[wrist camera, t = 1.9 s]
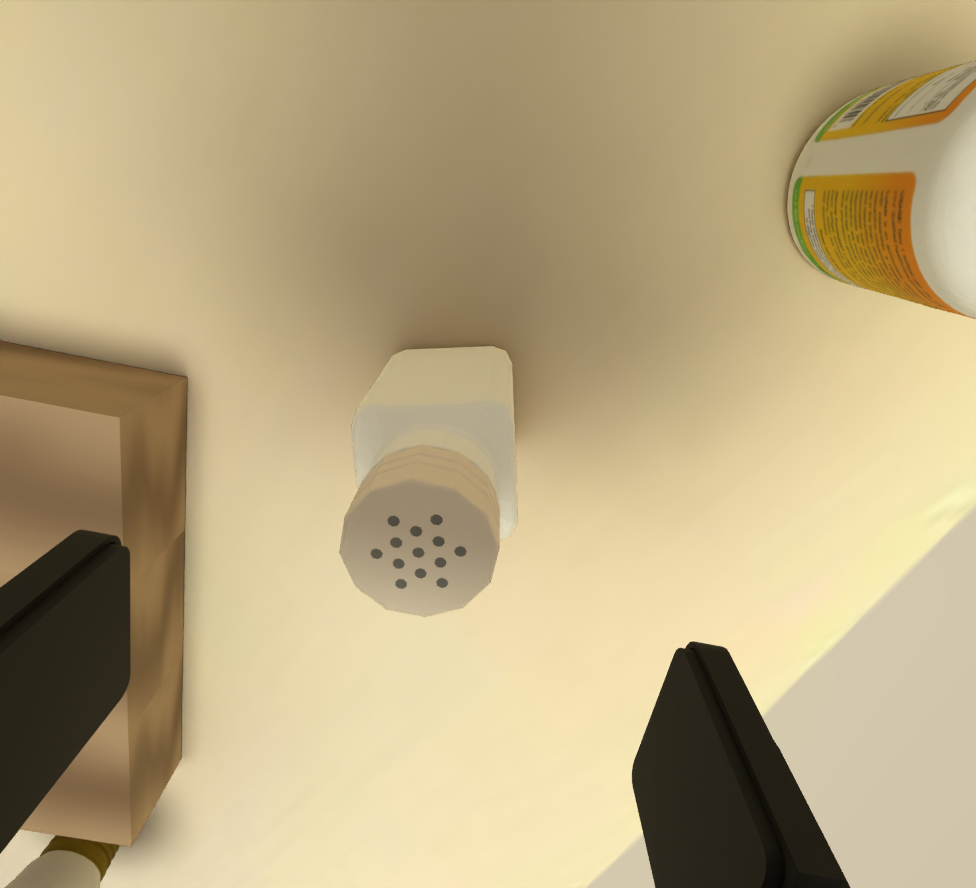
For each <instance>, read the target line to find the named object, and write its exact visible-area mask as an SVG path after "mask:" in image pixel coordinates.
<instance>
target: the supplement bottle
mask: <svg viewBox="0 0 976 888" xmlns="http://www.w3.org/2000/svg"><path fill="white" fill-rule="evenodd" d="M787 211H788V220H789V226H790V231H791V234H792V237H793V239H794V242H795V244H796V246H797V248H798V249H799V251H800V253H801V254H802V255H803V257H804V258H805V259H806V260H807V261H808V262H809V263H810V264H811V265H812V266H813V267H814V268H816V269H817V270H819V271H820V272H822V273H823V274H825V275H827V276H829V277H831V278H833V279H835V280H838V281H841V282H844V283H847V284H850V285H853V286H857V287H860V288H864V289H868V290H873V291H876V292H880V293H883V294H887V295H890V296H894V297H898V298H901V299H905V300H908V301H912V302H915V303H918V304H922V305H925V306H928V307H932V308H935V309H940V310H943V311H947V312H952V313H955V314H959V315H963V316H966V317H970V318H974V319H976V61H973V62H969V63H965V64H961V65H957V66H954V67H950V68H946V69H943V70H939V71H936V72H932V73H929V74H925V75H921V76H916V77H913V78H910V79H906V80H903V81H899V82H896V83H892V84H889V85H886V86H883V87H880V88H877V89H874V90H872V91H869V92H866V93H864V94H862V95H860V96H858V97H856V98H854V99H853V100H851V101H849V102H848V103H846V104H845V105H843V106H842V107H841V108H839V109H838V110H837V111H835V112H834V113H833V114H832V115H831V116H830V117H828V118H827V119H826V120H825V121H824V122H823V123H822V124H821V126H820V127H819V128H818V129H817V130H816V131H815V133H814V134H813V135H812V136H811V138H810V139H809V141H808V142H807V144H806V145H805V147H804V149H803V150H802V152H801V154H800V156H799V158H798V160H797V163H796V165H795V168H794V171H793V174H792V177H791V181H790V185H789V191H788V203H787Z"/></svg>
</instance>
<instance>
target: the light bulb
mask: <svg viewBox="0 0 976 888" xmlns="http://www.w3.org/2000/svg"><path fill="white" fill-rule="evenodd" d="M119 846H120V845H117V844H110V843H104V842H98V841H91V840H85V839H79V838H72V837H66V836H59V835H56V836H55V837H54V838H53V839H52V840H51V842H50V843H49V845H48V846H47V847H46V848H45V849H44V851H43V852H42V853H41V855H40V857H39V858H37V859H36V860H34V861H33V862H31V863H30V864H29V865H28V866H27V867H26V868H25V869H24V870H23V871H22V872H21V873H20V874H19V875H18V876H17V877H16V878H15V879H14V880H13V881H12V882H11V883H9V884H8V885H7V886H6V887H5V888H100V882H101V880H102V879H103V877H104V875H105V873H106V871H107V868H108V867H109V866H110V864H111V860H112V859H113V858H114V856H115V853H116V852H117V850H118V849H119Z"/></svg>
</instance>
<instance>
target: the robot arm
mask: <svg viewBox="0 0 976 888" xmlns="http://www.w3.org/2000/svg"><path fill="white" fill-rule="evenodd" d="M130 674H131V642H130V551H129V549H128V548H127V547H126V546H122V544H121V541H120V539H119V537H117V536H116V535H110V534H105V533H99V532H94V531H88V530H77V531H75V532H73V533H72V534H71V535H69V536H68V537H67V538H65V539H64V540H63V541H61V542H60V543H59V544H57V545H56V546H55V547H53V548H52V549H51V550H49V551H48V552H47V553H45V554H44V555H43V556H41V557H40V558H39V559H37V560H36V561H35V562H33V563H32V564H31V565H29V566H28V567H27V568H25V569H24V570H23V571H21V572H20V573H19V574H17V575H16V576H15V577H14V578H12V579H11V580H10V581H8V582H7V583H6V584H4V585H3V586H2V587H0V854H1V852H2V851H3V850H4V848H5V847H6V846H7V845H8V843H9V842H10V841H11V839H12V838H13V837H14V836H15V834H16V833H17V832H18V830H19V829H20V828H21V827H22V825H23V824H24V823H25V821H26V820H27V819H28V818H29V816H30V815H31V814H32V813H33V811H34V810H35V809H36V807H37V806H38V805H39V804H40V802H41V801H42V800H43V798H44V797H45V796H46V795H47V793H48V792H49V791H50V789H51V788H52V787H53V786H54V784H55V783H56V782H57V780H58V779H59V778H60V777H61V775H62V774H63V773H64V772H65V770H66V769H67V768H68V766H69V765H70V764H71V763H72V761H73V760H74V759H75V757H76V756H77V755H78V754H79V752H80V751H81V750H82V748H83V747H84V746H85V745H86V743H87V742H88V741H89V739H90V738H91V737H92V736H93V734H94V733H95V732H96V731H97V729H98V728H99V727H100V725H101V724H102V723H103V722H104V720H105V719H106V718H107V716H108V715H109V714H110V713H111V711H112V710H113V709H114V707H115V706H116V705H117V704H118V702H119V701H120V700H121V698H122V697H123V695H124V693H125V691H126V690H127V687H128V684H129V681H130ZM632 784H633V789H634V794H635V798H636V803H637V807H638V812H639V816H640V821H641V825H642V830H643V834H644V838H645V843H646V847H647V851H648V856H649V861H650V865H651V870H652V874H653V879H654V883H655V888H850V886H849V884H848V882H847V880H846V878H845V876H844V874H843V872H842V870H841V868H840V866H839V864H838V862H837V861H836V859H835V857H834V855H833V853H832V851H831V849H830V847H829V845H828V843H827V841H826V839H825V837H824V835H823V833H822V831H821V829H820V827H819V826H818V823H817V822H816V820H815V817H814V816H813V814H812V812H811V810H810V808H809V806H808V804H807V802H806V800H805V798H804V796H803V794H802V792H801V790H800V788H799V786H798V784H797V782H796V780H795V778H794V776H793V774H792V773H791V771H790V769H789V767H788V765H787V763H786V761H785V759H784V757H783V755H782V753H781V751H780V749H779V747H778V746H777V745H776V743H775V742H774V740H773V738H772V736H771V734H770V732H769V730H768V728H767V726H766V724H765V722H764V720H763V718H762V716H761V714H760V712H759V710H758V708H757V706H756V705H755V703H754V701H753V699H752V697H751V695H750V693H749V691H748V689H747V687H746V685H745V683H744V681H743V679H742V677H741V675H740V673H739V671H738V669H737V667H736V665H735V663H734V661H733V659H732V657H731V655H730V653H729V652H728V650H727V649H726V648H724V647H721V646H715V645H710V644H704V643H699V642H694V641H693V642H690V643H689V644H688V645H687V646H686V648H685V649H684V648H678V649H677V650H676V652H675V654H674V656H673V659H672V662H671V664H670V667H669V670H668V672H667V675H666V678H665V680H664V683H663V686H662V688H661V691H660V694H659V696H658V699H657V702H656V704H655V707H654V710H653V712H652V715H651V718H650V720H649V723H648V725H647V728H646V731H645V733H644V736H643V739H642V741H641V744H640V747H639V749H638V752H637V755H636V757H635V760H634V764H633V769H632Z"/></svg>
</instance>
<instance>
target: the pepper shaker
mask: <svg viewBox="0 0 976 888" xmlns="http://www.w3.org/2000/svg"><path fill="white" fill-rule="evenodd" d="M351 428H352V441H353V453H354V463H355V472H356V481H357V487H358V491H357V493H356V495H355V497H354V500H353V501H352V503H351V505H350V507H349V509H348V511H347V513H346V515H345V518H344V525H343V531H342V538H341V545H340V552H339V553H340V555H341V557H342V559H343V561H344V564H345V566H346V568H347V570H348V572H349V574H350V576H351V578H352V581H353V583H354V585H355V587H356V588H358V589H359V590H360V591H362V592H363V593H364V594H366V595H367V596H369V597H370V598H371V599H373V600H374V601H375V602H377V603H378V604H380V605H381V606H382V607H384V608H385V609H386V610H391V611H396V612H401V613H407V614H412V615H417V616H422V617H428V616H432V615H436V614H440V613H444V612H448V611H452V610H456V609H460V608H463V607H464V606H465V605H466V604H467V603H469V602H470V601H471V600H472V599H473V598H474V597H475V596H476V595H477V594H478V593H479V592H481V591H482V590H483V589H484V588H485V587H486V586H487V585H488V584H489V583H490V582H491V578H492V575H493V571H494V567H495V563H496V559H497V555H498V552H499V542H500V541H501V540H502V539H504V538H506V537H508V536H509V535H511V533H512V531H513V530H514V528H515V526H516V524H517V522H518V511H517V481H516V452H515V423H514V398H513V372H512V362H511V360H510V358H509V356H508V354H507V352H506V351H505V350H502V349H499V348H497V347H494V346H482V347H457V348H433V349H409V350H403V351H401V352H399V353H397V354H395V355H393V356H392V357H391V359H390V360H389V362H388V363H387V365H386V366H385V368H384V369H383V370H382V372H381V373H380V375H379V376H378V378H377V379H376V381H375V382H374V384H373V385H372V387H371V388H370V390H369V391H368V393H367V394H366V396H365V397H364V399H363V400H362V402H361V403H360V405H359V406H358V408H357V411H356V414H355V417H354V420H353V423H352V425H351Z"/></svg>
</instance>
